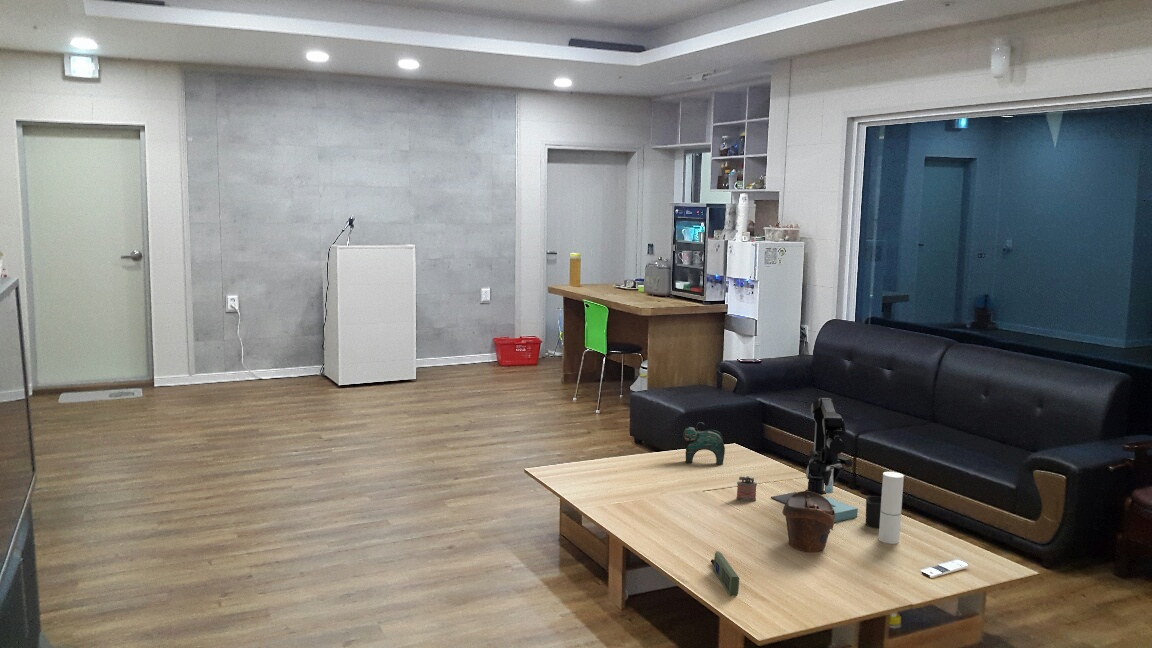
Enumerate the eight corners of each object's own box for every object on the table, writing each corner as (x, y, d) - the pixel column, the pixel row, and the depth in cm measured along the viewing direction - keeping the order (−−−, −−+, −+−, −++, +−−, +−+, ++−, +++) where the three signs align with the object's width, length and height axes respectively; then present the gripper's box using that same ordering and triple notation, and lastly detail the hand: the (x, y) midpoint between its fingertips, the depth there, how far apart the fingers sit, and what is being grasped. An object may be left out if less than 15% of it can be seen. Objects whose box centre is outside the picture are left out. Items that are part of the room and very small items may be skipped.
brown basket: (807, 559, 301) (811, 509, 299) (769, 540, 319) (772, 492, 317) (846, 552, 310) (849, 503, 308) (807, 533, 327) (810, 487, 325)
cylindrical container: (898, 538, 324) (903, 473, 321) (899, 544, 317) (904, 478, 314) (878, 535, 326) (883, 470, 323) (878, 542, 319) (883, 476, 316)
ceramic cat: (681, 463, 414) (683, 422, 412) (682, 459, 421) (684, 419, 418) (724, 466, 411) (726, 425, 409) (724, 462, 418) (726, 421, 415)
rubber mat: (795, 493, 373) (795, 491, 373) (819, 503, 361) (819, 501, 361) (770, 498, 366) (771, 496, 366) (794, 508, 354) (795, 506, 354)
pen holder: (891, 523, 339) (893, 498, 338) (889, 531, 331) (890, 505, 330) (866, 519, 343) (867, 494, 342) (863, 526, 335) (864, 501, 334)
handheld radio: (728, 596, 272) (707, 564, 296) (738, 597, 272) (716, 564, 297) (730, 576, 271) (708, 545, 295) (740, 576, 271) (718, 545, 296)
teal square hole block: (826, 504, 359) (827, 496, 359) (857, 516, 346) (857, 508, 345) (798, 510, 351) (798, 502, 351) (828, 523, 338) (828, 514, 337)
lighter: (755, 499, 365) (756, 476, 363) (756, 501, 361) (757, 478, 360) (736, 498, 365) (737, 475, 364) (736, 500, 362) (737, 477, 361)
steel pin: (828, 490, 350) (830, 466, 348) (834, 492, 347) (835, 468, 346) (823, 491, 348) (824, 467, 347) (828, 493, 345) (830, 469, 344)
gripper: (832, 439, 357) (830, 476, 359) (799, 444, 347) (797, 482, 349) (854, 446, 347) (851, 483, 349) (820, 451, 338) (818, 490, 340)
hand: (829, 485), depth 347 cm, fingers closed on steel pin, 3 cm apart
